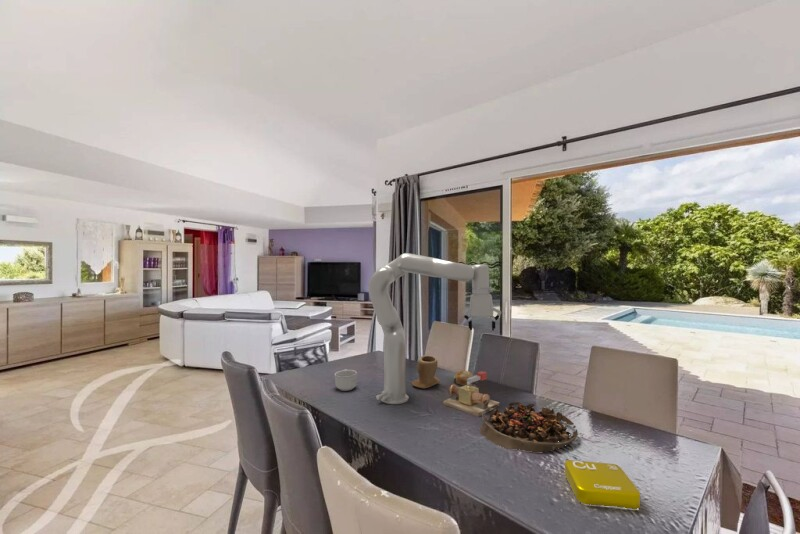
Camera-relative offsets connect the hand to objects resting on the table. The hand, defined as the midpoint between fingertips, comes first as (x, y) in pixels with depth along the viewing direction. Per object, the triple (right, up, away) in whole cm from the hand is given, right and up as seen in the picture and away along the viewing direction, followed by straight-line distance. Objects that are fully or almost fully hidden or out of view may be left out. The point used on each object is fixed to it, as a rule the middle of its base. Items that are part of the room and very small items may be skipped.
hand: (482, 329), depth 167 cm
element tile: (+17, -33, -66) cm, 76 cm away
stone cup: (-23, -32, +19) cm, 44 cm away
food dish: (+10, -33, -30) cm, 45 cm away
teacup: (-63, -31, +16) cm, 72 cm away
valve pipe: (-7, -30, -7) cm, 32 cm away
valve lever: (-3, -23, -3) cm, 23 cm away
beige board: (-6, -32, -6) cm, 33 cm away
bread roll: (-4, -32, +24) cm, 40 cm away
